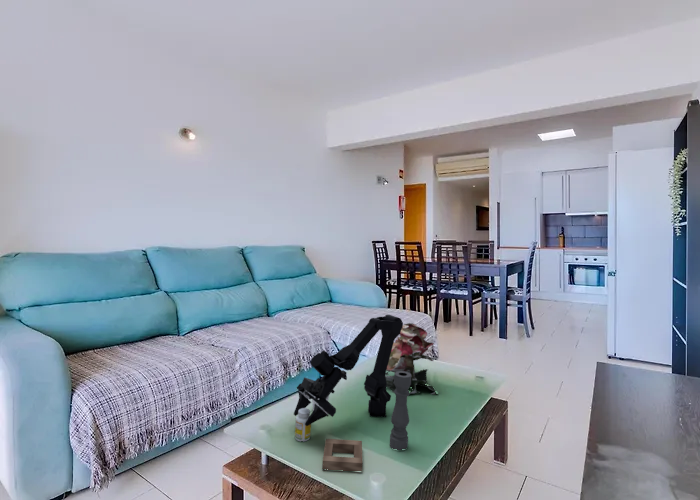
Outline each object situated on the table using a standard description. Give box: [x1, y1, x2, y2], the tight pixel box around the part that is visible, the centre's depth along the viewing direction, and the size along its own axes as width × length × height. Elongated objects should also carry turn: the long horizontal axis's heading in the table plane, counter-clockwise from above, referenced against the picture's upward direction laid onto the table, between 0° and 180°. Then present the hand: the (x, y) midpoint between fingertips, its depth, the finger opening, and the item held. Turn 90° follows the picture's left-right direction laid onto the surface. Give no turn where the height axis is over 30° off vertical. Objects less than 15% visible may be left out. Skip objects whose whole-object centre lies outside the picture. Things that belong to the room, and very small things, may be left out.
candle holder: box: [389, 371, 411, 450], centre depth 130 cm, size 6×6×25 cm
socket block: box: [321, 438, 363, 472], centre depth 121 cm, size 12×12×3 cm
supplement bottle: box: [294, 407, 312, 442], centre depth 132 cm, size 5×5×10 cm
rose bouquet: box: [385, 322, 436, 395], centre depth 181 cm, size 26×29×30 cm
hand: (300, 420), depth 131 cm, fingers open, 8 cm apart
